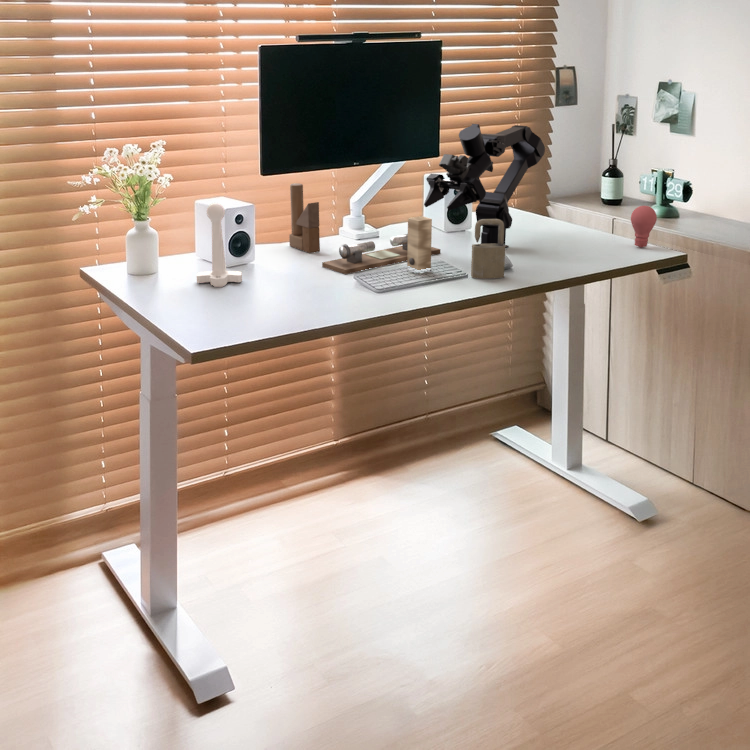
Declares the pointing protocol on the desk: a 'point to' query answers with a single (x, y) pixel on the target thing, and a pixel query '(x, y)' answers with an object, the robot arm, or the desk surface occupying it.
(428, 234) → the tan wood post
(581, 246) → the desk surface
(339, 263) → the base board
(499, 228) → the padlock
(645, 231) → the light bulb
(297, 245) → the wooden block
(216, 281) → the joystick
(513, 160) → the robot arm
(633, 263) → the desk surface
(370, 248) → the shafts
